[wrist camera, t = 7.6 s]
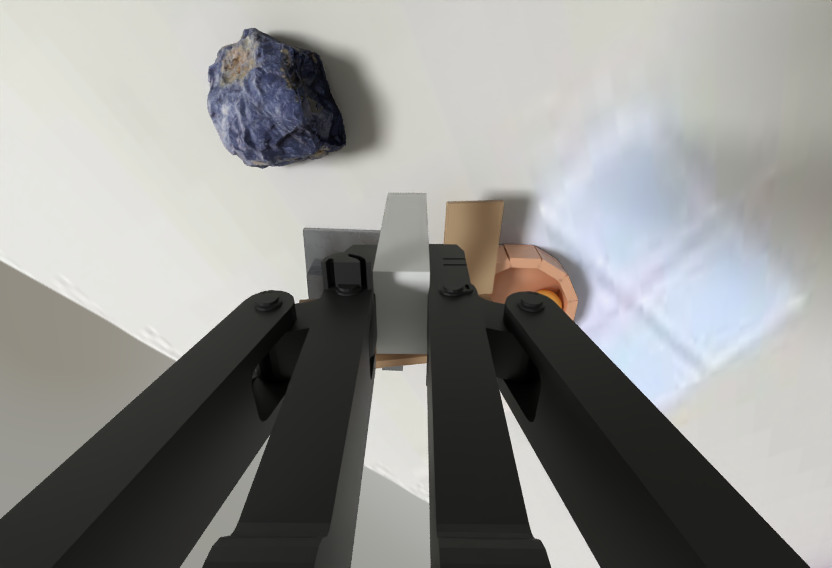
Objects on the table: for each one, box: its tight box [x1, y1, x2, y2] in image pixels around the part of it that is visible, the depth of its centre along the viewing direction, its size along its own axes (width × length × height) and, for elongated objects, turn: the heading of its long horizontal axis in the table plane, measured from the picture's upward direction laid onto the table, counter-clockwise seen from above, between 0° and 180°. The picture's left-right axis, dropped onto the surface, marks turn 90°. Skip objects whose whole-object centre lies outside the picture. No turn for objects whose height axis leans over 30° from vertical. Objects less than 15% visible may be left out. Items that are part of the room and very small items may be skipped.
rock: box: [207, 28, 346, 169], centre depth 36 cm, size 11×10×10 cm
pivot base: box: [303, 228, 403, 371], centre depth 44 cm, size 12×14×8 cm
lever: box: [299, 200, 504, 368], centre depth 40 cm, size 18×15×4 cm
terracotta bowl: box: [488, 244, 578, 321], centre depth 47 cm, size 12×12×4 cm
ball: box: [536, 290, 562, 309], centre depth 46 cm, size 4×4×4 cm
